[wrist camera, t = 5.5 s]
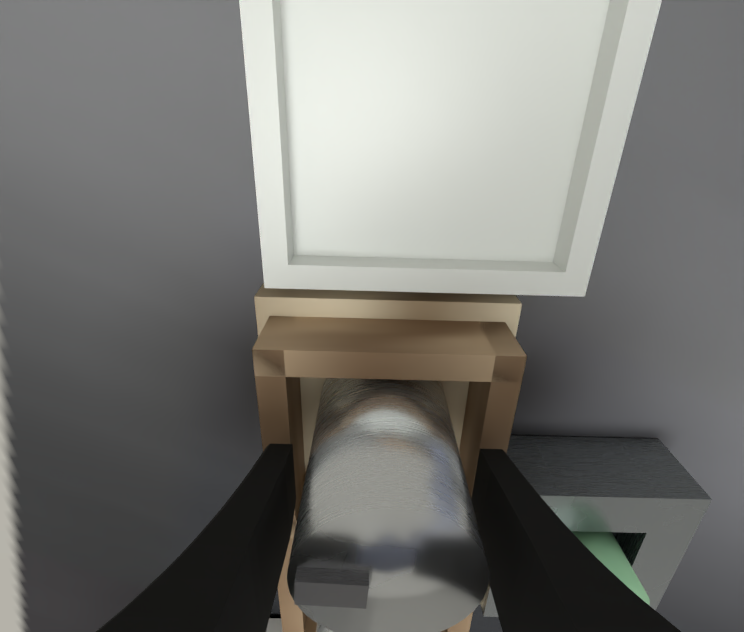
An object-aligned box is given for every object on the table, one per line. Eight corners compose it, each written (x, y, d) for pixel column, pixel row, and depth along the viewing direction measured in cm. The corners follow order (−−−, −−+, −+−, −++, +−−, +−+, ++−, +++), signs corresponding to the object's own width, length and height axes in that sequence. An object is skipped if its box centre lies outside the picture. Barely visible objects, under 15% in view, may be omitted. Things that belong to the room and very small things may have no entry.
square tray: (651, -103, 9) (698, -140, 8) (563, 278, 13) (584, 296, 12) (247, -116, 9) (225, -155, 8) (275, 270, 13) (264, 288, 12)
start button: (610, 503, 16) (660, 584, 13) (593, 548, 17) (636, 632, 14) (543, 501, 16) (578, 582, 13) (530, 547, 17) (560, 630, 14)
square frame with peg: (658, 438, 16) (712, 499, 13) (613, 551, 19) (650, 620, 16) (489, 434, 16) (511, 494, 13) (468, 548, 19) (483, 616, 16)
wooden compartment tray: (510, 288, 13) (547, 336, 11) (458, 579, 20) (473, 659, 17) (263, 282, 13) (233, 328, 10) (289, 575, 20) (274, 655, 17)
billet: (453, 351, 13) (514, 534, 7) (434, 451, 15) (472, 662, 9) (323, 341, 13) (283, 519, 7) (319, 443, 15) (284, 651, 9)
